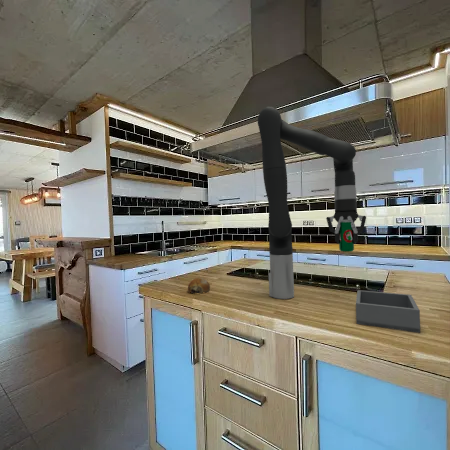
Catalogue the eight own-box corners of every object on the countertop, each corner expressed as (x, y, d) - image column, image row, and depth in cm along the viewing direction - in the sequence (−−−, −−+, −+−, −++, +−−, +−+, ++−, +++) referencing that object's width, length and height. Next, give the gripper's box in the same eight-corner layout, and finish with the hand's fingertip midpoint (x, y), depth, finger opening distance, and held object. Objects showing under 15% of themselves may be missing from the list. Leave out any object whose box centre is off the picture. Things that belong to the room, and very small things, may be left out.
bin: (356, 323, 75) (355, 303, 75) (358, 307, 88) (357, 290, 88) (420, 332, 67) (419, 310, 67) (411, 313, 80) (411, 294, 80)
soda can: (341, 250, 100) (340, 219, 100) (355, 250, 97) (354, 219, 97) (337, 251, 96) (336, 219, 96) (352, 252, 93) (351, 219, 93)
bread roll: (212, 299, 116) (216, 281, 118) (196, 294, 109) (201, 276, 111) (197, 295, 123) (202, 279, 125) (181, 290, 116) (187, 273, 118)
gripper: (323, 199, 96) (324, 244, 97) (367, 196, 89) (368, 244, 90) (326, 200, 103) (327, 242, 103) (367, 197, 96) (368, 242, 96)
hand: (346, 243), depth 96 cm, fingers closed on soda can, 5 cm apart
